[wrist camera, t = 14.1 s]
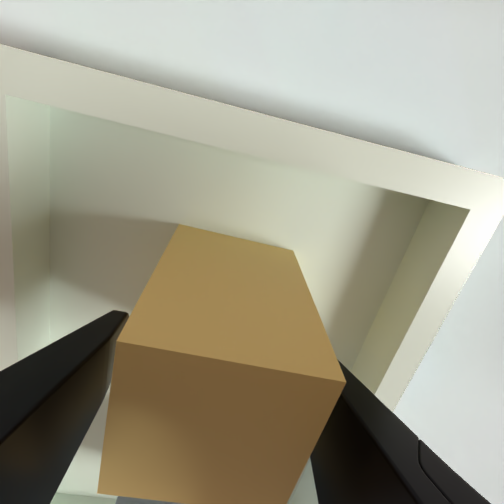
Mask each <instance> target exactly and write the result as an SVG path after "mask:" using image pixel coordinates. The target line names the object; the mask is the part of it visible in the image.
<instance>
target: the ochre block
mask: <svg viewBox="0 0 504 504" xmlns="http://www.w3.org/2000/svg"><path fill="white" fill-rule="evenodd" d="M345 384H346V380H345V377H344V375H343V372H342V370H341V367H340V365H339V362H338V360H337V358H336V355H335V353H334V350H333V348H332V345H331V343H330V340H329V338H328V335H327V333H326V330H325V328H324V325H323V323H322V320H321V318H320V315H319V313H318V311H317V308H316V306H315V303H314V301H313V298H312V296H311V293H310V291H309V288H308V286H307V283H306V281H305V278H304V276H303V273H302V271H301V268H300V266H299V263H298V261H297V259H296V256H295V254H294V251H293V250H288V249H284V248H280V247H276V246H271V245H267V244H263V243H259V242H254V241H250V240H246V239H242V238H237V237H233V236H229V235H224V234H220V233H216V232H212V231H207V230H203V229H199V228H195V227H190V226H186V225H182V224H179V225H178V227H177V229H176V230H175V232H174V234H173V236H172V238H171V240H170V242H169V244H168V245H167V247H166V249H165V251H164V253H163V255H162V257H161V258H160V260H159V262H158V264H157V266H156V268H155V270H154V272H153V273H152V275H151V277H150V279H149V281H148V283H147V285H146V287H145V288H144V290H143V292H142V294H141V296H140V298H139V300H138V301H137V303H136V305H135V307H134V309H133V311H132V313H131V315H130V316H129V318H128V320H127V322H126V324H125V326H124V328H123V329H122V331H121V333H120V335H119V337H118V339H117V341H116V348H115V355H114V363H113V371H112V379H111V387H110V395H109V402H108V410H107V418H106V426H105V434H104V442H103V449H102V457H101V465H100V473H99V481H98V489H97V494H105V495H114V496H123V497H131V498H140V499H149V500H157V501H166V502H175V503H184V504H287V502H288V500H289V498H290V496H291V494H292V492H293V490H294V488H295V486H296V483H297V481H298V479H299V477H300V475H301V473H302V471H303V469H304V467H305V465H306V463H307V461H308V459H309V457H310V455H311V453H312V451H313V449H314V447H315V445H316V443H317V441H318V439H319V437H320V435H321V433H322V431H323V429H324V427H325V425H326V423H327V421H328V419H329V417H330V415H331V413H332V411H333V409H334V406H335V404H336V402H337V400H338V398H339V396H340V394H341V392H342V390H343V388H344V386H345Z"/></svg>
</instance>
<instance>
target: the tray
mask: <svg viewBox="0 0 504 504" xmlns="http://www.w3.org/2000/svg"><path fill="white" fill-rule="evenodd" d="M503 215H504V178H503V177H499V176H496V175H492V174H488V173H484V172H481V171H477V170H473V169H469V168H466V167H462V166H458V165H454V164H451V163H447V162H443V161H439V160H435V159H432V158H428V157H424V156H420V155H417V154H413V153H409V152H405V151H402V150H398V149H394V148H390V147H387V146H383V145H379V144H375V143H371V142H368V141H364V140H360V139H356V138H353V137H349V136H345V135H341V134H338V133H334V132H330V131H326V130H323V129H319V128H315V127H311V126H308V125H304V124H300V123H296V122H292V121H289V120H285V119H281V118H277V117H274V116H270V115H266V114H262V113H259V112H255V111H251V110H247V109H244V108H240V107H236V106H232V105H228V104H225V103H221V102H217V101H213V100H210V99H206V98H202V97H198V96H195V95H191V94H187V93H183V92H180V91H176V90H172V89H168V88H165V87H161V86H157V85H153V84H149V83H146V82H142V81H138V80H134V79H131V78H127V77H123V76H119V75H116V74H112V73H108V72H104V71H101V70H97V69H93V68H89V67H85V66H82V65H78V64H74V63H70V62H67V61H63V60H59V59H55V58H52V57H48V56H44V55H40V54H37V53H33V52H29V51H25V50H22V49H18V48H14V47H10V46H6V45H3V44H0V371H1V370H3V369H5V368H7V367H9V366H11V365H12V364H14V363H16V362H18V361H20V360H22V359H23V358H25V357H27V356H29V355H31V354H33V353H35V352H36V351H38V350H40V349H42V348H44V347H46V346H47V345H49V344H51V343H53V342H55V341H57V340H59V339H60V338H62V337H64V336H66V335H68V334H70V333H71V332H73V331H75V330H77V329H79V328H81V327H82V326H84V325H86V324H88V323H90V322H92V321H94V320H95V319H97V318H99V317H101V316H103V315H105V314H106V313H108V312H110V311H112V310H118V311H124V312H127V313H128V314H129V316H130V315H131V313H132V311H133V309H134V307H135V305H136V303H137V301H138V300H139V298H140V296H141V294H142V292H143V290H144V288H145V287H146V285H147V283H148V281H149V279H150V277H151V275H152V273H153V272H154V270H155V268H156V266H157V264H158V262H159V260H160V258H161V257H162V255H163V253H164V251H165V249H166V247H167V245H168V244H169V242H170V240H171V238H172V236H173V234H174V232H175V230H176V229H177V227H178V225H179V224H182V225H186V226H190V227H195V228H199V229H203V230H207V231H212V232H216V233H220V234H224V235H229V236H233V237H237V238H242V239H246V240H250V241H254V242H259V243H263V244H267V245H271V246H276V247H280V248H284V249H288V250H293V251H294V254H295V256H296V259H297V261H298V263H299V266H300V268H301V271H302V273H303V276H304V278H305V281H306V283H307V286H308V288H309V291H310V293H311V296H312V298H313V301H314V303H315V306H316V308H317V311H318V313H319V315H320V318H321V320H322V323H323V325H324V328H325V330H326V333H327V335H328V338H329V340H330V343H331V345H332V348H333V350H334V353H335V355H336V358H337V359H338V360H339V361H340V362H341V363H342V364H343V365H344V366H345V367H346V368H347V369H348V370H349V371H350V372H351V373H352V374H353V375H354V376H355V377H356V378H357V379H359V380H360V381H361V382H362V383H363V384H364V385H365V386H366V387H367V388H368V389H369V390H370V391H371V392H372V393H373V394H374V395H375V396H376V397H377V398H378V399H379V400H380V401H381V402H382V403H383V404H384V405H385V406H386V407H387V408H388V409H390V410H391V411H392V412H393V411H394V409H395V407H396V405H397V404H398V402H399V400H400V398H401V397H402V395H403V393H404V391H405V389H406V388H407V386H408V384H409V382H410V380H411V379H412V377H413V375H414V373H415V372H416V370H417V368H418V366H419V364H420V363H421V361H422V359H423V357H424V356H425V354H426V352H427V350H428V348H429V347H430V345H431V343H432V341H433V340H434V338H435V336H436V334H437V332H438V331H439V329H440V327H441V325H442V324H443V322H444V320H445V318H446V316H447V315H448V313H449V311H450V309H451V308H452V306H453V304H454V302H455V300H456V299H457V297H458V295H459V293H460V292H461V290H462V288H463V286H464V284H465V283H466V281H467V279H468V277H469V276H470V274H471V272H472V270H473V268H474V267H475V265H476V263H477V261H478V260H479V258H480V256H481V254H482V252H483V251H484V249H485V247H486V245H487V244H488V242H489V240H490V238H491V236H492V235H493V233H494V231H495V229H496V228H497V226H498V224H499V222H500V220H501V219H502V217H503ZM110 387H111V383H110V386H109V388H108V391H107V393H106V396H105V398H104V400H103V402H102V404H101V406H100V408H99V410H98V412H97V414H96V416H95V418H94V420H93V422H92V424H91V426H90V427H89V429H88V431H87V433H86V435H85V437H84V439H83V441H82V443H81V445H80V447H79V449H78V451H77V453H76V455H75V456H74V458H73V460H72V462H71V464H70V466H69V468H68V470H67V472H66V474H65V476H64V478H63V480H62V482H61V484H60V485H59V487H58V489H57V491H56V493H55V495H54V497H53V499H52V501H51V503H50V504H115V503H116V500H117V497H118V496H114V495H105V494H97V489H98V481H99V473H100V465H101V457H102V449H103V442H104V434H105V426H106V418H107V410H108V402H109V395H110ZM287 504H318V499H317V493H316V488H315V482H314V477H313V471H312V466H311V460H310V457H309V459H308V461H307V463H306V465H305V467H304V469H303V471H302V473H301V475H300V477H299V479H298V481H297V483H296V486H295V488H294V490H293V492H292V494H291V496H290V498H289V500H288V502H287Z"/></svg>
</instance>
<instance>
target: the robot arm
mask: <svg viewBox="0 0 504 504" xmlns="http://www.w3.org/2000/svg"><path fill="white" fill-rule="evenodd" d="M128 318H129V314H128V313H127V312H124V311H118V310H112V311H110V312H108V313H106V314H105V315H103V316H101V317H99V318H97V319H95V320H94V321H92V322H90V323H88V324H86V325H84V326H82V327H81V328H79V329H77V330H75V331H73V332H71V333H70V334H68V335H66V336H64V337H62V338H60V339H59V340H57V341H55V342H53V343H51V344H49V345H47V346H46V347H44V348H42V349H40V350H38V351H36V352H35V353H33V354H31V355H29V356H27V357H25V358H23V359H22V360H20V361H18V362H16V363H14V364H12V365H11V366H9V367H7V368H5V369H3V370H1V371H0V504H50V503H51V501H52V499H53V497H54V495H55V493H56V491H57V489H58V487H59V485H60V484H61V482H62V480H63V478H64V476H65V474H66V472H67V470H68V468H69V466H70V464H71V462H72V460H73V458H74V456H75V455H76V453H77V451H78V449H79V447H80V445H81V443H82V441H83V439H84V437H85V435H86V433H87V431H88V429H89V427H90V426H91V424H92V422H93V420H94V418H95V416H96V414H97V412H98V410H99V408H100V406H101V404H102V402H103V400H104V398H105V396H106V393H107V391H108V388H109V386H110V383H111V379H112V371H113V363H114V355H115V348H116V341H117V339H118V337H119V335H120V333H121V331H122V329H123V328H124V326H125V324H126V322H127V320H128ZM337 360H338V359H337ZM338 362H339V365H340V367H341V370H342V372H343V375H344V377H345V380H346V384H345V386H344V388H343V390H342V392H341V394H340V396H339V398H338V400H337V402H336V404H335V406H334V409H333V411H332V413H331V415H330V417H329V419H328V421H327V423H326V425H325V427H324V429H323V431H322V433H321V435H320V437H319V439H318V441H317V443H316V445H315V447H314V449H313V451H312V453H311V455H310V460H311V466H312V471H313V477H314V482H315V488H316V493H317V499H318V504H491V503H490V502H488V501H487V500H486V499H485V498H484V497H483V496H481V495H480V494H479V493H478V492H477V491H476V490H475V489H474V488H472V487H471V486H470V485H469V484H468V483H467V482H466V481H464V480H463V479H462V478H461V477H460V476H459V475H458V474H457V473H455V472H454V471H453V470H452V469H451V468H450V467H449V466H448V465H447V464H446V463H445V462H444V461H443V460H441V459H440V458H439V457H438V456H437V455H436V454H435V453H434V452H433V451H432V450H431V449H430V448H429V447H428V446H427V445H426V444H425V443H424V442H423V441H422V440H419V439H418V437H417V436H416V435H415V434H414V433H413V432H412V431H411V430H410V429H409V428H408V427H407V426H406V425H405V424H404V423H403V422H402V421H401V420H400V419H399V418H398V417H397V416H396V415H395V414H394V413H393V412H392V411H391V410H390V409H388V408H387V407H386V406H385V405H384V404H383V403H382V402H381V401H380V400H379V399H378V398H377V397H376V396H375V395H374V394H373V393H372V392H371V391H370V390H369V389H368V388H367V387H366V386H365V385H364V384H363V383H362V382H361V381H360V380H359V379H357V378H356V377H355V376H354V375H353V374H352V373H351V372H350V371H349V370H348V369H347V368H346V367H345V366H344V365H343V364H342V363H341V362H340V361H339V360H338Z"/></svg>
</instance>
